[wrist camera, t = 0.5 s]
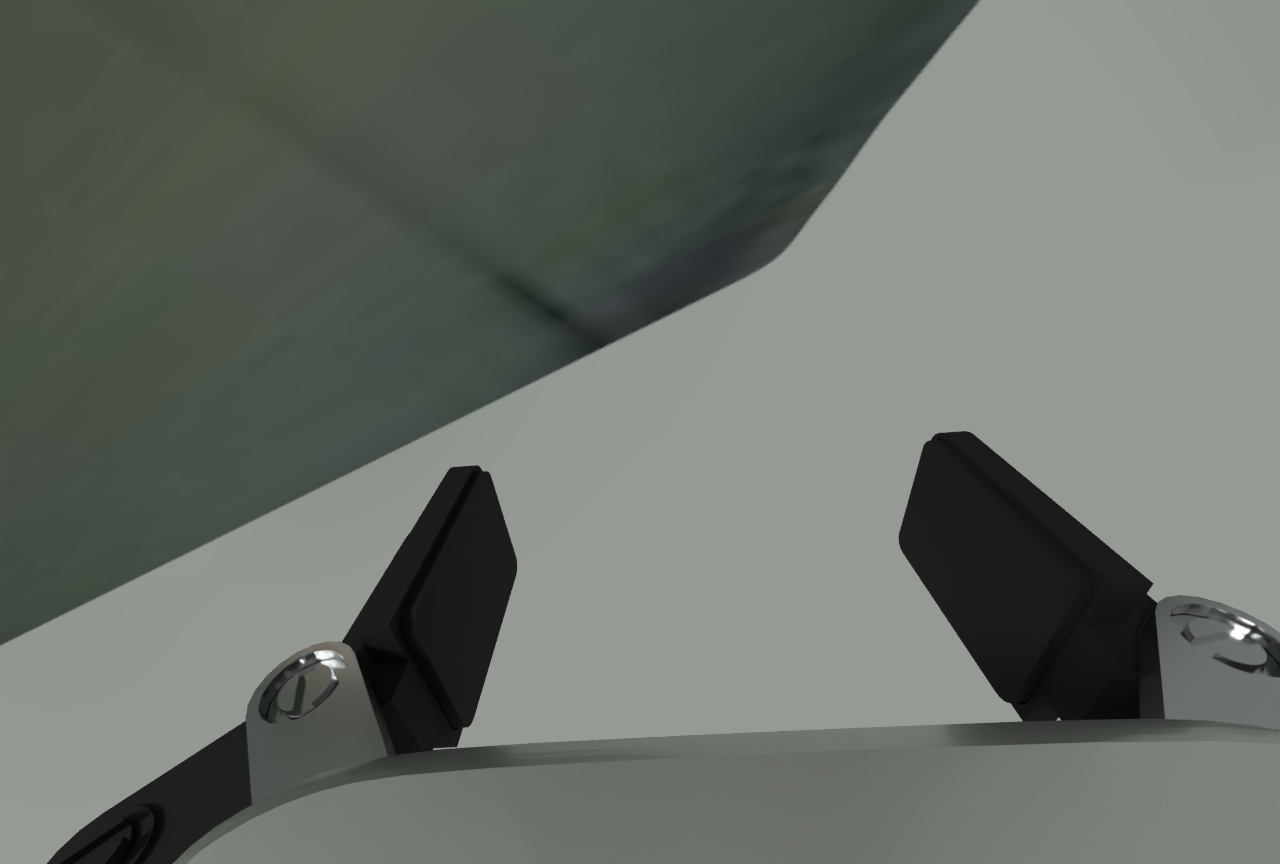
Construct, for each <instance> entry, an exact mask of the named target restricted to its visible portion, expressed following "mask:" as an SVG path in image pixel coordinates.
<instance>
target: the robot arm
mask: <svg viewBox="0 0 1280 864" xmlns="http://www.w3.org/2000/svg"><path fill="white" fill-rule="evenodd" d="M899 544H900V548H901V550H902V552H903V554H904V555H905V557H906V558H907V560H908V561H909V563H910V564H911V566H912V567H913V568H914V570H915V572H916V573H917V575H918V576H919V577H920V579H921V581H922V582H923V584H924V585H925V587H926V588H927V590H928V591H929V593H930V594H931V596H932V597H933V598H934V600H935V601H936V603H937V605H938V606H939V607H940V609H941V611H942V612H943V614H944V615H945V616H946V618H947V620H948V621H949V623H950V624H951V626H952V627H953V629H954V630H955V632H956V633H957V635H958V636H959V638H960V639H961V641H962V642H963V643H964V645H965V646H966V648H967V650H968V651H969V653H970V654H971V656H972V657H973V659H974V660H975V662H976V663H977V665H978V666H979V668H980V669H981V671H982V672H983V674H984V675H985V677H986V678H987V680H988V681H989V683H990V684H991V686H992V687H993V689H994V690H995V692H996V693H997V694H998V696H999V697H1000V698H1002V699H1003V700H1004V701H1006V702H1008V703H1011V704H1012V706H1013V707H1014V709H1015V710H1016V711H1017V713H1018V714H1019V716H1020V718H1021V719H1022V720H1023V722H1000V723H974V724H948V725H922V726H898V727H871V728H848V729H824V730H802V731H778V732H756V733H734V734H711V735H689V736H668V737H648V738H628V739H607V740H588V741H568V742H547V743H529V744H514V745H500V746H486V747H470V748H455V749H441V750H433V748H445V747H457V745H458V742H459V739H460V736H461V732H462V729H463V727H469V726H470V725H471V723H472V721H473V718H474V716H475V712H476V709H477V705H478V702H479V699H480V695H481V692H482V688H483V685H484V682H485V678H486V675H487V672H488V668H489V665H490V661H491V658H492V655H493V651H494V648H495V645H496V641H497V638H498V635H499V631H500V627H501V624H502V621H503V618H504V614H505V611H506V607H507V604H508V601H509V597H510V594H511V590H512V587H513V584H514V581H515V577H516V573H517V559H516V556H515V552H514V549H513V546H512V543H511V540H510V536H509V533H508V530H507V527H506V524H505V520H504V517H503V513H502V511H501V507H500V504H499V501H498V497H497V494H496V491H495V488H494V485H493V481H492V478H491V475H490V473H489V472H487V471H486V472H483V471H482V469H481V468H480V467H479V466H463V467H452V468H450V469H449V471H448V472H447V473H446V475H445V477H444V478H443V480H442V482H441V483H440V485H439V486H438V488H437V490H436V491H435V493H434V495H433V496H432V498H431V500H430V501H429V503H428V504H427V506H426V508H425V509H424V511H423V513H422V514H421V516H420V517H419V519H418V521H417V522H416V524H415V526H414V527H413V529H412V531H411V532H410V534H409V535H408V536H407V537H406V539H405V540H404V542H403V543H402V545H401V547H400V548H399V550H398V552H397V553H396V555H395V556H394V558H393V560H392V562H391V563H390V565H389V566H388V568H387V569H386V571H385V573H384V575H383V576H382V578H381V579H380V581H379V583H378V584H377V586H376V587H375V589H374V591H373V592H372V594H371V596H370V597H369V599H368V600H367V602H366V604H365V605H364V607H363V609H362V610H361V612H360V614H359V615H358V617H357V618H356V620H355V622H354V623H353V625H352V626H351V628H350V630H349V632H348V633H347V635H346V636H345V638H344V639H343V641H342V642H324V643H320V644H316V645H312V646H310V647H308V648H305V649H303V650H301V651H299V652H297V653H295V654H294V655H292V656H291V657H289V658H288V659H286V660H285V661H283V662H281V663H280V664H279V665H278V666H277V667H276V668H275V669H274V670H272V672H270V673H269V674H268V675H267V676H266V677H265V678H264V680H263V681H262V682H261V684H260V685H259V686H258V687H257V688H256V690H255V691H254V694H253V696H252V697H251V699H250V701H249V704H248V707H247V713H246V721H245V722H243V723H242V724H241V725H239V726H237V727H236V728H234V729H233V730H231V731H229V732H228V733H226V734H225V735H223V736H222V737H220V738H219V739H217V740H215V741H214V742H212V743H211V744H209V745H208V746H206V747H205V748H203V749H202V750H200V751H199V752H197V753H196V754H194V755H192V756H191V757H189V758H188V759H186V760H185V761H183V762H181V763H180V764H178V765H177V766H175V767H174V768H173V769H171V770H169V771H168V772H166V773H164V774H163V775H161V776H160V777H159V778H157V779H155V780H154V781H152V782H151V783H149V784H147V785H146V786H144V787H143V788H141V789H140V790H138V791H137V792H135V793H134V794H132V795H131V796H129V797H127V798H126V799H124V800H123V801H121V802H120V803H118V804H117V805H115V806H114V807H112V808H110V809H109V810H107V811H106V812H104V813H103V814H101V815H100V816H99V817H98V818H96V819H95V820H93V821H92V822H91V823H89V824H88V825H87V826H85V827H84V828H83V829H81V830H80V831H79V832H78V833H77V834H76V835H74V837H72V838H71V839H70V840H69V841H68V842H67V843H66V844H65V845H64V846H63V847H62V848H60V849H59V850H58V851H57V852H56V854H55V855H54V856H53V857H52V858H51V859H50V861H49V862H48V863H47V864H1280V633H1279V632H1278V631H1276V630H1275V629H1274V628H1272V627H1271V626H1269V625H1268V624H1266V623H1264V622H1262V621H1260V620H1258V619H1256V618H1255V617H1253V616H1251V615H1249V614H1247V613H1245V612H1243V611H1240V610H1238V609H1235V608H1233V607H1230V606H1227V605H1225V604H1222V603H1219V602H1215V601H1212V600H1208V599H1204V598H1200V597H1192V596H1183V595H1178V596H1171V597H1166V598H1164V599H1163V600H1161V601H1159V602H1158V603H1156V602H1155V601H1154V600H1153V599H1152V598H1151V597H1149V596H1148V595H1147V594H1146V593H1147V592H1148V591H1149V589H1150V588H1151V586H1152V585H1153V583H1152V582H1151V581H1150V580H1148V579H1147V578H1146V577H1145V576H1144V575H1142V574H1141V573H1140V572H1139V571H1138V570H1136V569H1135V568H1134V567H1133V566H1132V565H1130V564H1129V563H1128V562H1127V561H1126V560H1124V559H1123V558H1122V557H1121V556H1120V555H1118V554H1117V553H1116V552H1115V551H1113V550H1112V549H1111V548H1110V547H1109V546H1107V545H1106V544H1105V543H1104V542H1102V541H1101V540H1100V539H1099V538H1098V537H1097V536H1095V535H1094V534H1093V533H1092V532H1091V531H1089V530H1088V529H1087V528H1086V527H1085V526H1083V525H1082V524H1081V523H1080V522H1079V521H1077V520H1076V519H1075V518H1074V517H1072V516H1071V515H1070V514H1069V513H1068V512H1066V511H1065V510H1064V509H1063V508H1062V507H1060V506H1059V505H1058V504H1057V503H1056V502H1054V501H1053V500H1052V499H1051V498H1049V497H1048V496H1047V495H1046V494H1045V493H1044V492H1042V491H1041V490H1040V489H1039V488H1037V487H1036V486H1035V485H1034V484H1032V483H1031V482H1030V481H1029V480H1028V479H1027V478H1025V477H1024V476H1023V475H1022V474H1021V473H1019V472H1018V471H1017V470H1016V469H1015V468H1013V467H1012V466H1011V465H1010V464H1008V463H1007V462H1006V461H1005V460H1004V459H1003V458H1001V457H1000V456H999V455H998V454H996V453H995V452H994V451H993V450H992V449H990V448H989V447H988V446H987V445H986V444H984V443H983V442H982V441H981V440H980V439H978V438H977V437H976V436H975V435H973V434H972V433H970V432H966V431H962V432H948V433H938V434H935V435H934V436H933V437H932V439H931V441H927V442H926V443H925V444H924V447H923V450H922V453H921V457H920V461H919V464H918V468H917V472H916V475H915V479H914V482H913V486H912V489H911V493H910V497H909V500H908V504H907V508H906V511H905V515H904V518H903V522H902V526H901V529H900V533H899ZM1058 717H1059V718H1060V719H1061V720H1062V721H1056V720H1057V718H1058Z"/></svg>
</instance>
